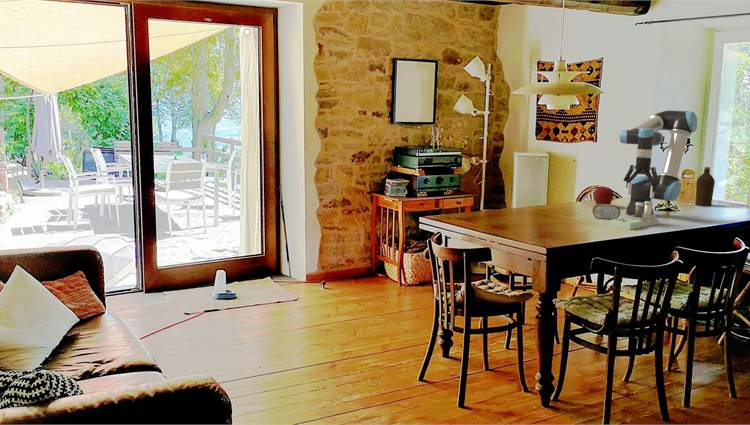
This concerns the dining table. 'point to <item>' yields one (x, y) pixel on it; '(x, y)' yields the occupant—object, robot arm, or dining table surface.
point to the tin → (606, 211)
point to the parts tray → (626, 223)
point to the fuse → (648, 208)
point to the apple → (603, 195)
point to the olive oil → (705, 188)
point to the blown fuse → (639, 209)
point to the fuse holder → (646, 219)
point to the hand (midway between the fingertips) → (640, 196)
